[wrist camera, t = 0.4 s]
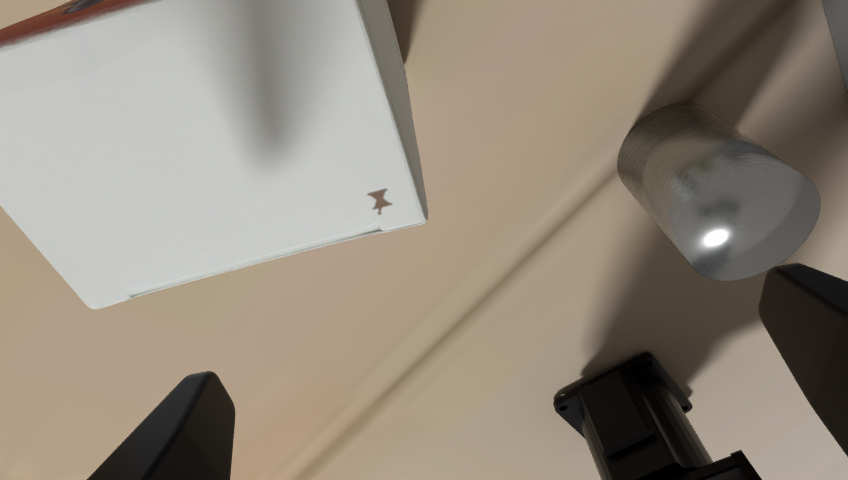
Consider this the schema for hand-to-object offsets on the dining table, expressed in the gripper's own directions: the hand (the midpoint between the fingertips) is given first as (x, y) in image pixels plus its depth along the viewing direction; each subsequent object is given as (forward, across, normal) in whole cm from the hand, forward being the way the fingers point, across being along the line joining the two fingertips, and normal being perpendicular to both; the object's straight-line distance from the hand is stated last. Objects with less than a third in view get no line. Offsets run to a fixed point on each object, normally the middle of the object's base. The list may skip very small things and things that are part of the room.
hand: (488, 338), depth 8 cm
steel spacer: (+14, -10, +5) cm, 18 cm away
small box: (+14, +5, -3) cm, 15 cm away
